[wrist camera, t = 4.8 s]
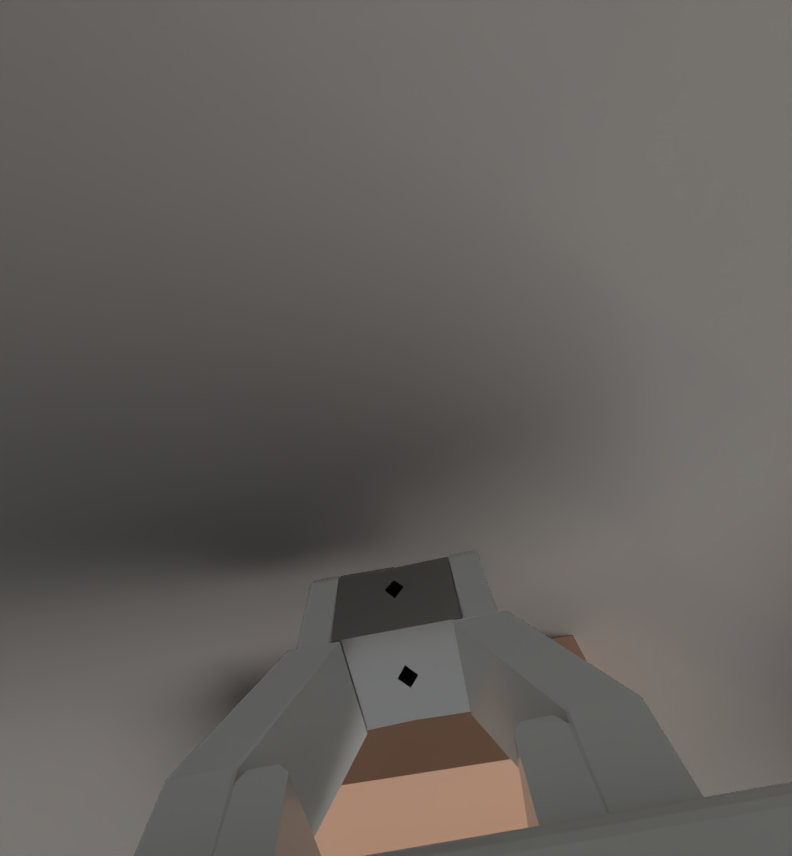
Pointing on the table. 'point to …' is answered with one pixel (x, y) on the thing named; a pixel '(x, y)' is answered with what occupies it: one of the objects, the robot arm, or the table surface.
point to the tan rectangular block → (425, 787)
